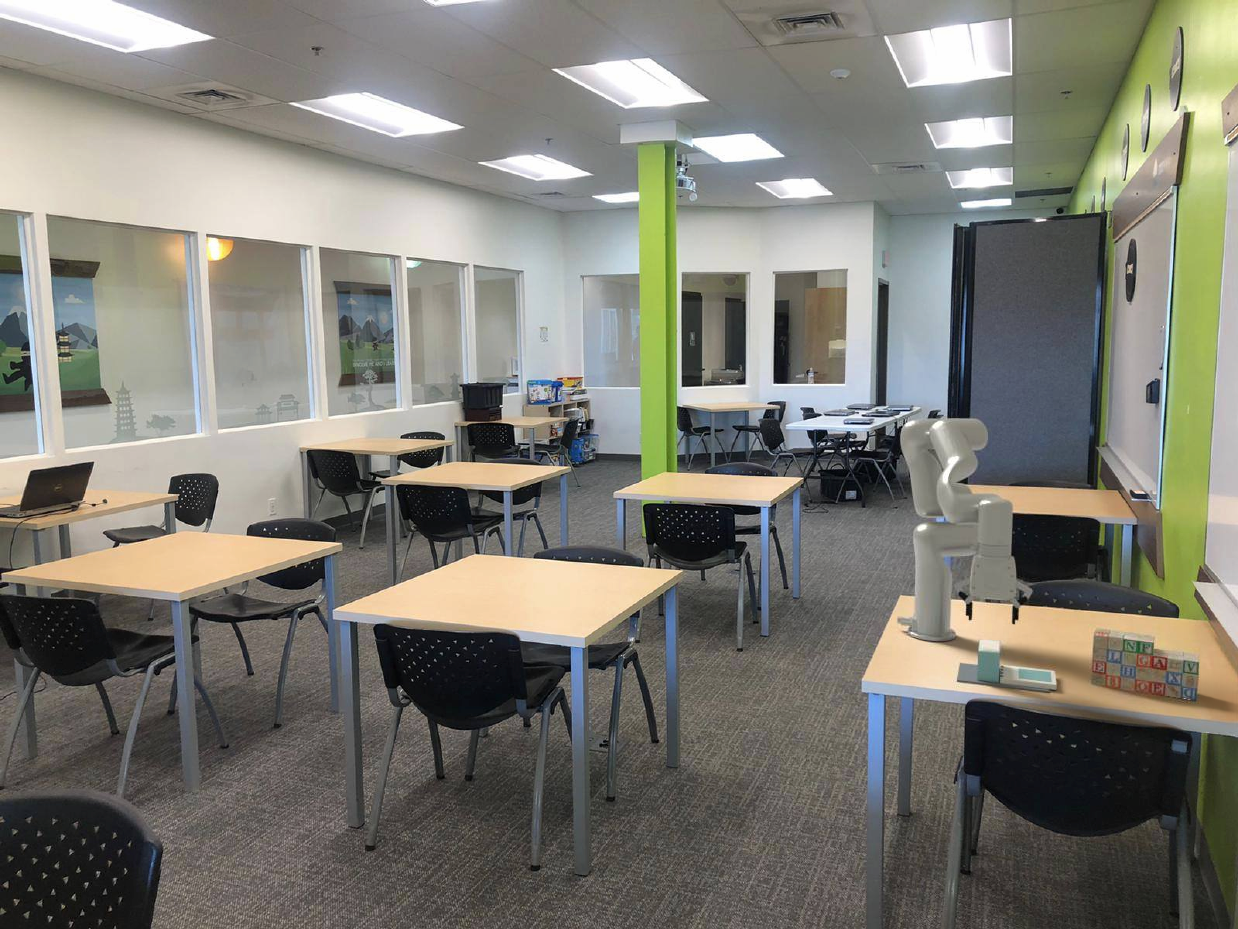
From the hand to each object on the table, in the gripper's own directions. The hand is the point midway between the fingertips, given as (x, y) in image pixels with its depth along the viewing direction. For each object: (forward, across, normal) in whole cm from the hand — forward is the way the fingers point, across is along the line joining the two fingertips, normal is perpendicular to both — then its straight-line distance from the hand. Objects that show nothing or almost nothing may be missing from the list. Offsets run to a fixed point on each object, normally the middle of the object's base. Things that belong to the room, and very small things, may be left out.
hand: (991, 621), depth 222 cm
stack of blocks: (+14, +33, +6) cm, 36 cm away
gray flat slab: (+14, +4, +1) cm, 14 cm away
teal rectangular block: (+14, 0, +1) cm, 14 cm away
